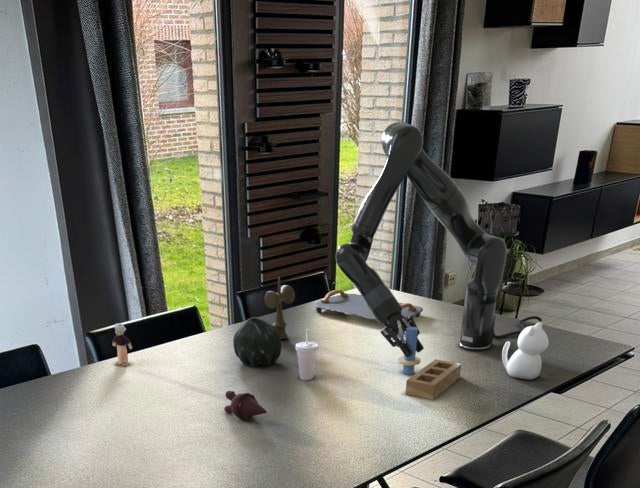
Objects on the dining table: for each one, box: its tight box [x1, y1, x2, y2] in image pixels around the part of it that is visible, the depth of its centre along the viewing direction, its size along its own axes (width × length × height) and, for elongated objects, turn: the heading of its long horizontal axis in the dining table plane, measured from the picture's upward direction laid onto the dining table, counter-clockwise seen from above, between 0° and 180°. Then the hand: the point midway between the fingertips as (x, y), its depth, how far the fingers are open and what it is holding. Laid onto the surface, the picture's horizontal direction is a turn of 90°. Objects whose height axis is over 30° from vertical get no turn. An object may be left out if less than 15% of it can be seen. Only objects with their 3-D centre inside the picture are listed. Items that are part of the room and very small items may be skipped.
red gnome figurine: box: [223, 390, 268, 421], centre depth 184 cm, size 7×7×15 cm
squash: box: [232, 316, 283, 367], centre depth 219 cm, size 14×15×15 cm
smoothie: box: [295, 328, 319, 381], centre depth 206 cm, size 6×6×14 cm
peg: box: [397, 327, 422, 376], centre depth 208 cm, size 6×6×13 cm
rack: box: [405, 358, 462, 401], centre depth 201 cm, size 20×8×4 cm, turn 146°
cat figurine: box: [501, 321, 550, 381], centre depth 203 cm, size 9×12×15 cm
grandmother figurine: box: [112, 323, 133, 367], centre depth 221 cm, size 8×4×13 cm, turn 68°
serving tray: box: [313, 289, 424, 322], centre depth 264 cm, size 39×23×6 cm, turn 45°
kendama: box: [264, 276, 296, 341], centre depth 238 cm, size 6×10×20 cm, turn 141°
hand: (415, 353), depth 207 cm, fingers open, 5 cm apart
